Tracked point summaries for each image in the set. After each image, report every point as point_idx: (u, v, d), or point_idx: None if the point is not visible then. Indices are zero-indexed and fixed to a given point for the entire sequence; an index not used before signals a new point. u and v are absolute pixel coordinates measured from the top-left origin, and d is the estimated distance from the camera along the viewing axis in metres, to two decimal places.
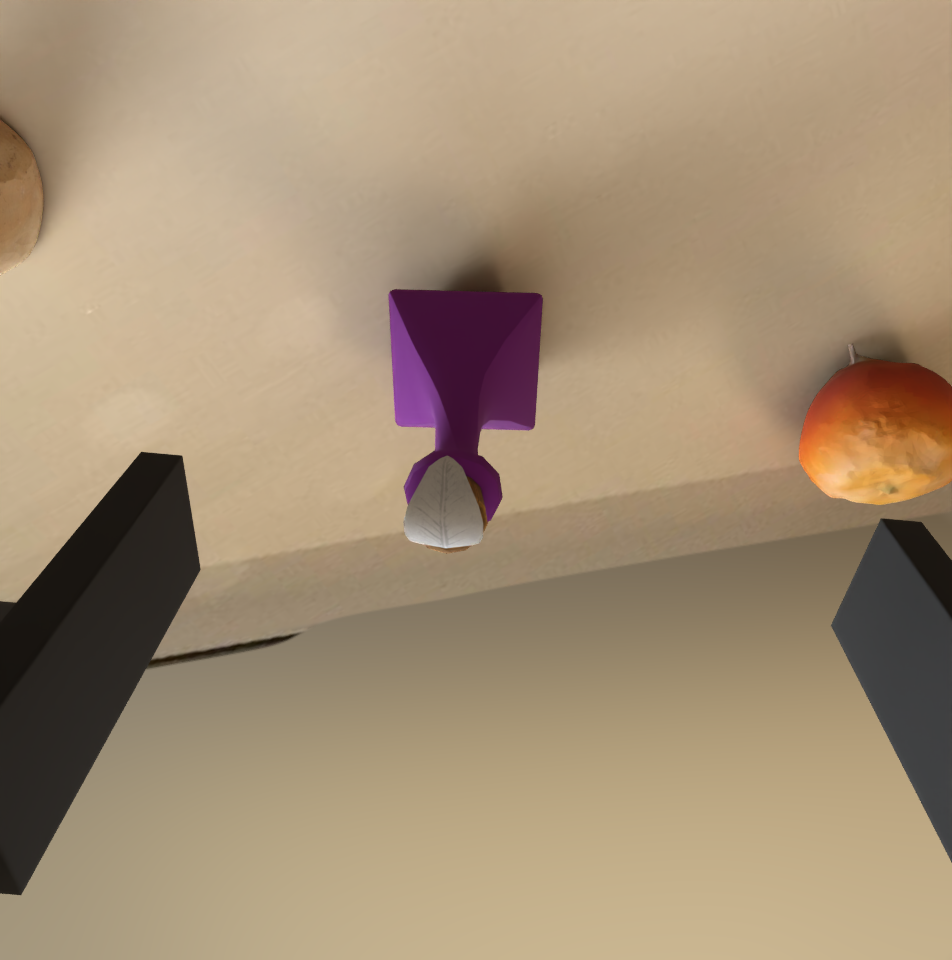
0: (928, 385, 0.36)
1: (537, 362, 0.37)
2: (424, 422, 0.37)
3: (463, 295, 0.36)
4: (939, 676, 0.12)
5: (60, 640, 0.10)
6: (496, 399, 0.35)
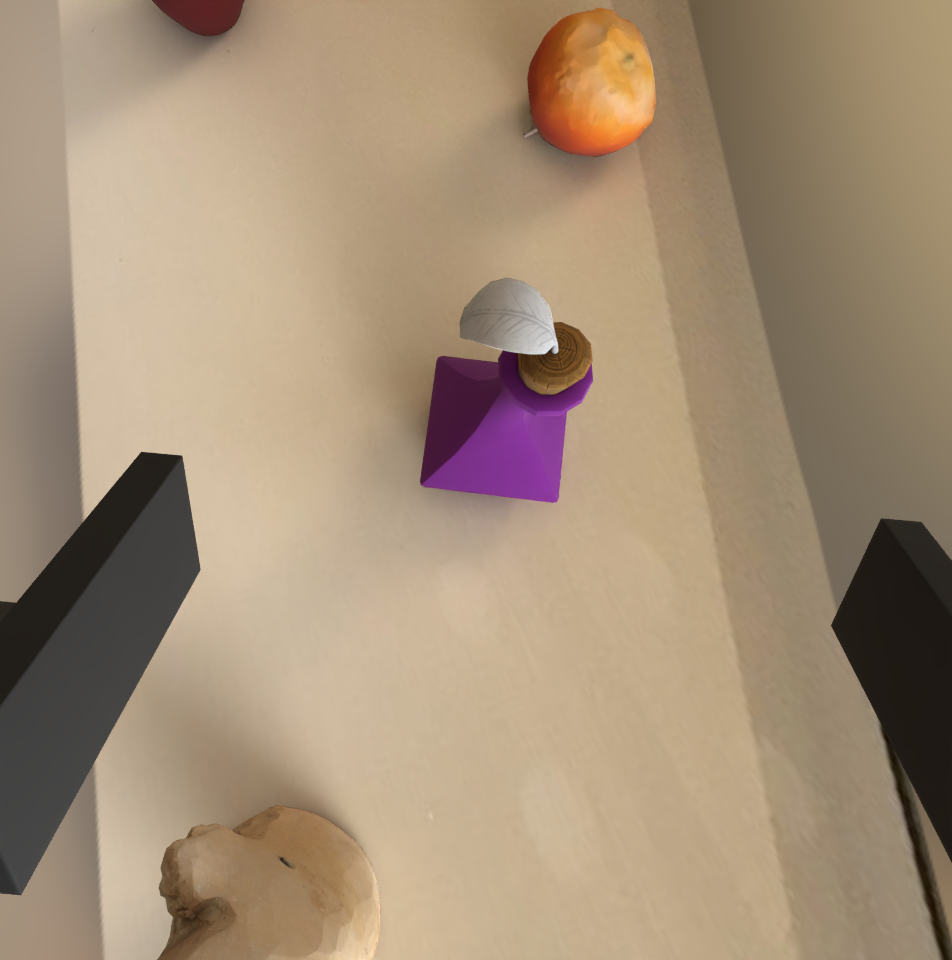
0: (536, 53, 0.43)
1: None
2: (536, 455, 0.38)
3: (430, 420, 0.40)
4: (939, 676, 0.12)
5: (60, 640, 0.10)
6: None
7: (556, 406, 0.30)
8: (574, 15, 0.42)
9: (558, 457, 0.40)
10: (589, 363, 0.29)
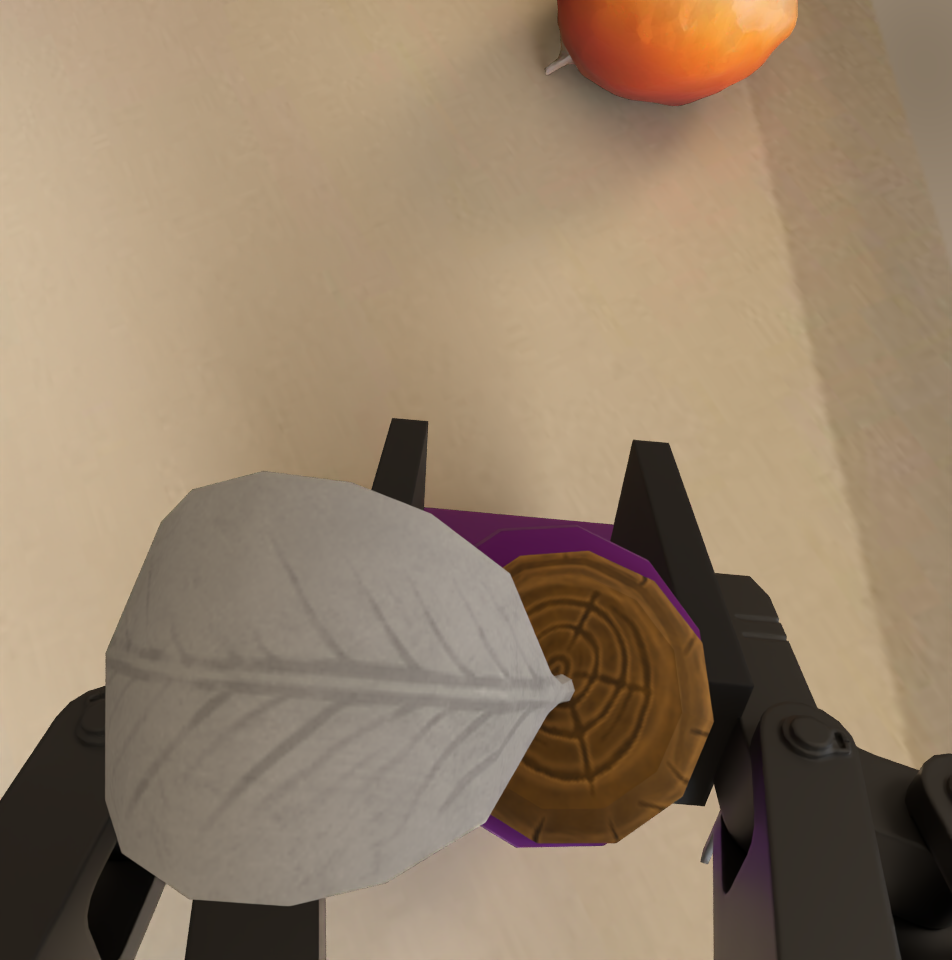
0: None
1: (491, 515, 0.20)
2: None
3: None
4: None
5: None
6: None
7: None
8: None
9: None
10: (702, 734, 0.07)
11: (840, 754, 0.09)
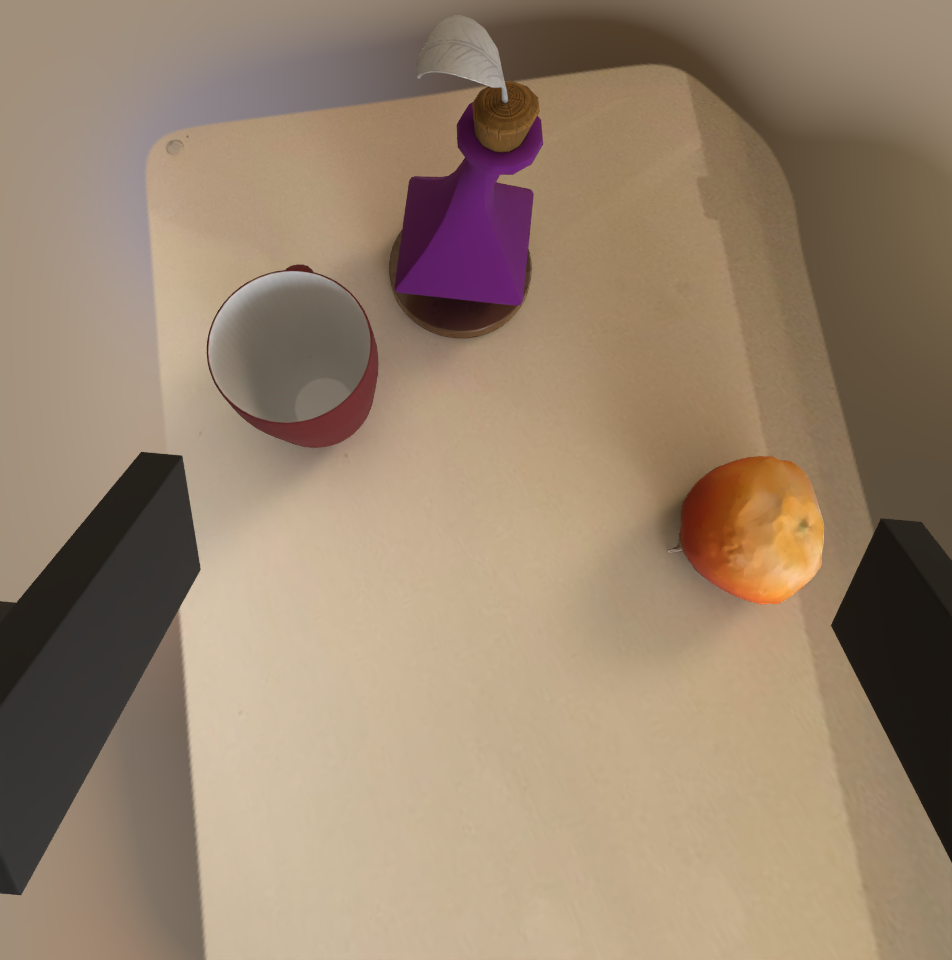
0: (696, 506, 0.40)
1: None
2: (500, 251, 0.41)
3: (403, 232, 0.43)
4: (939, 676, 0.12)
5: (60, 640, 0.10)
6: None
7: (509, 161, 0.33)
8: (743, 480, 0.39)
9: (521, 263, 0.43)
10: (536, 112, 0.32)
11: None
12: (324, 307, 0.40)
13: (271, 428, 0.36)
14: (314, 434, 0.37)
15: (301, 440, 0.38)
